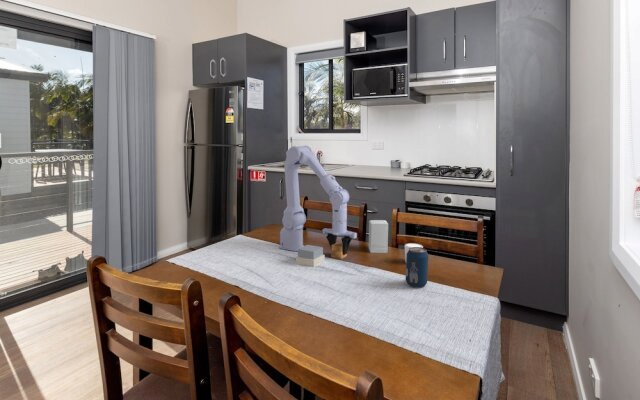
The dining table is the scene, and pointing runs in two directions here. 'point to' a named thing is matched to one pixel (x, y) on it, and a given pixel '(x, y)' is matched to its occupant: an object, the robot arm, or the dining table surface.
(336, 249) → the orange block
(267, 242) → the dining table surface
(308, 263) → the cream base block
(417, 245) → the white cylinder
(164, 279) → the dining table surface
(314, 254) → the slate top block
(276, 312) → the dining table surface
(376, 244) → the supplement box
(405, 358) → the dining table surface
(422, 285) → the soda can
